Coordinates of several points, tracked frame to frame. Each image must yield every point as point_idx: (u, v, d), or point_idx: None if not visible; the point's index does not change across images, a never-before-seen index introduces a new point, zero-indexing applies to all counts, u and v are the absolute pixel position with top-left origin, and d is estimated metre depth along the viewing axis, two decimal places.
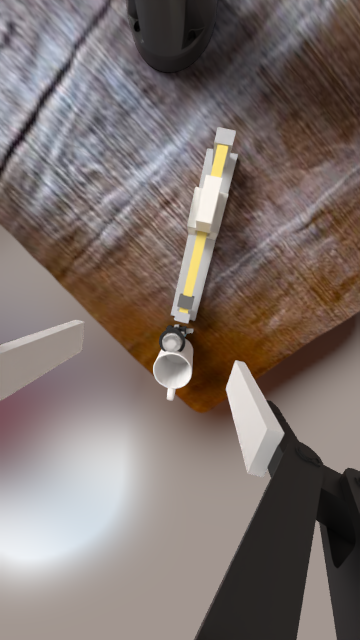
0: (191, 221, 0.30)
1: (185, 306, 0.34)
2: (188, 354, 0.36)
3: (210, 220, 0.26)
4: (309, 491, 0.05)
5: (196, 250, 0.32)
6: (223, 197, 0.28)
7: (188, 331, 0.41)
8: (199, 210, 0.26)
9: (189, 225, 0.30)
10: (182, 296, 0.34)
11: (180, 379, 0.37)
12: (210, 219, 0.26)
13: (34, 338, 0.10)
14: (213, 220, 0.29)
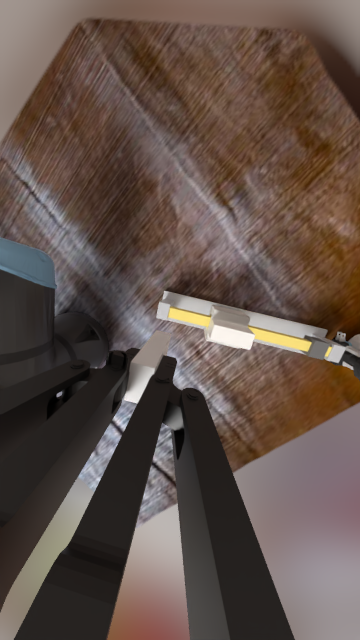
0: None
1: (324, 350, 0.29)
2: None
3: (252, 335, 0.24)
4: (161, 400, 0.08)
5: (260, 336, 0.30)
6: (217, 314, 0.28)
7: (342, 338, 0.34)
8: (241, 346, 0.25)
9: (239, 346, 0.29)
10: (311, 353, 0.29)
11: None
12: (250, 335, 0.24)
13: (149, 349, 0.12)
14: (237, 323, 0.28)
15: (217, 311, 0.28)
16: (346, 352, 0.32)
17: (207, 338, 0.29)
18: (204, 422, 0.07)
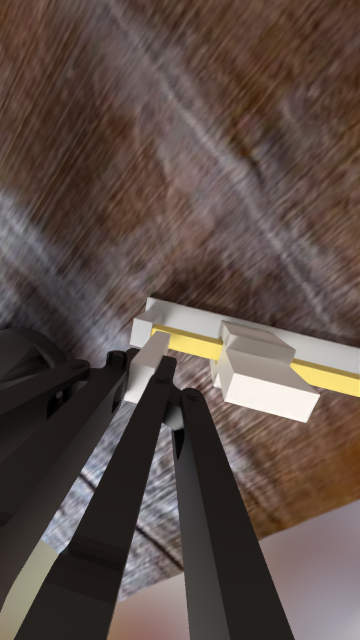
0: None
1: None
2: None
3: (312, 395, 0.12)
4: (161, 400, 0.08)
5: (306, 378, 0.18)
6: (235, 342, 0.16)
7: None
8: (288, 415, 0.12)
9: None
10: None
11: None
12: (309, 396, 0.12)
13: (149, 349, 0.12)
14: (271, 359, 0.16)
15: (235, 338, 0.15)
16: None
17: (216, 383, 0.17)
18: (204, 422, 0.07)
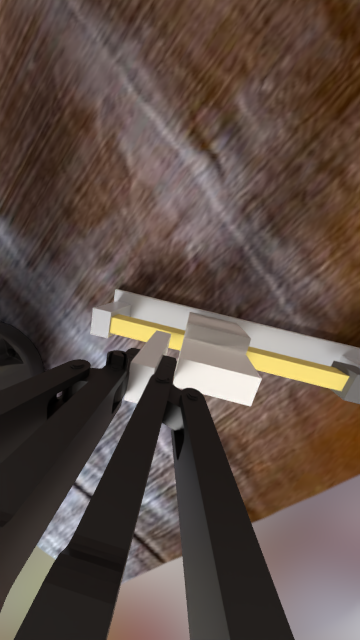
0: None
1: None
2: None
3: (255, 379, 0.12)
4: (161, 399, 0.08)
5: (261, 366, 0.18)
6: (192, 331, 0.16)
7: None
8: (233, 399, 0.13)
9: None
10: (349, 395, 0.17)
11: None
12: (252, 380, 0.12)
13: (149, 349, 0.12)
14: (228, 347, 0.16)
15: (192, 327, 0.16)
16: None
17: None
18: (204, 422, 0.07)
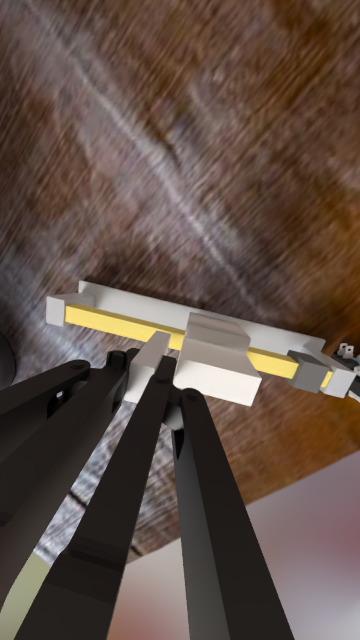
0: None
1: (320, 378, 0.17)
2: None
3: (255, 379, 0.12)
4: (161, 400, 0.08)
5: None
6: (192, 331, 0.16)
7: (348, 354, 0.22)
8: (233, 399, 0.13)
9: None
10: (298, 382, 0.17)
11: None
12: (252, 380, 0.12)
13: (149, 349, 0.12)
14: (228, 347, 0.16)
15: (192, 327, 0.16)
16: (355, 377, 0.20)
17: None
18: (204, 422, 0.07)
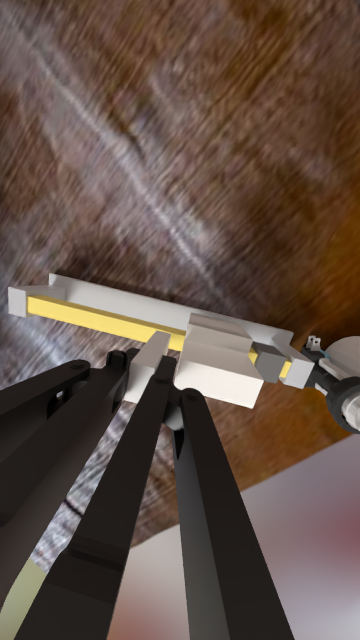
0: None
1: (278, 368, 0.17)
2: None
3: (257, 381, 0.12)
4: (161, 400, 0.08)
5: (173, 344, 0.18)
6: (193, 332, 0.16)
7: (316, 346, 0.22)
8: (235, 401, 0.12)
9: None
10: None
11: None
12: (254, 382, 0.12)
13: (149, 349, 0.12)
14: (230, 348, 0.16)
15: (193, 327, 0.16)
16: (319, 369, 0.20)
17: None
18: (204, 422, 0.07)
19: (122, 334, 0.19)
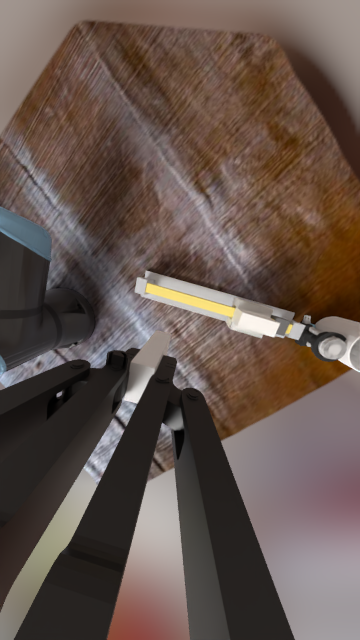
0: (258, 334, 0.31)
1: (285, 327, 0.32)
2: (348, 328, 0.30)
3: (277, 323, 0.27)
4: (161, 400, 0.08)
5: (227, 313, 0.33)
6: (242, 304, 0.30)
7: (308, 321, 0.36)
8: (266, 333, 0.27)
9: (261, 336, 0.31)
10: None
11: None
12: (275, 324, 0.27)
13: (149, 349, 0.12)
14: (261, 313, 0.30)
15: (243, 302, 0.30)
16: (309, 332, 0.35)
17: (231, 327, 0.32)
18: (204, 422, 0.07)
19: (198, 306, 0.33)
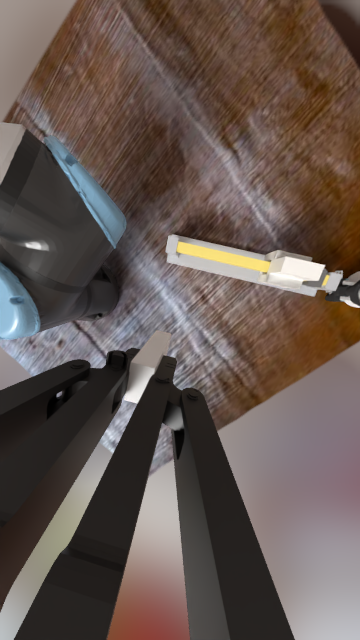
0: (296, 285, 0.31)
1: (322, 277, 0.31)
2: None
3: (321, 266, 0.26)
4: (161, 400, 0.08)
5: (262, 267, 0.33)
6: (280, 254, 0.30)
7: None
8: (310, 277, 0.27)
9: (299, 287, 0.31)
10: (310, 281, 0.32)
11: None
12: (320, 266, 0.26)
13: (149, 349, 0.12)
14: None
15: (280, 252, 0.30)
16: (343, 285, 0.34)
17: (268, 279, 0.31)
18: (204, 422, 0.07)
19: (232, 262, 0.33)
